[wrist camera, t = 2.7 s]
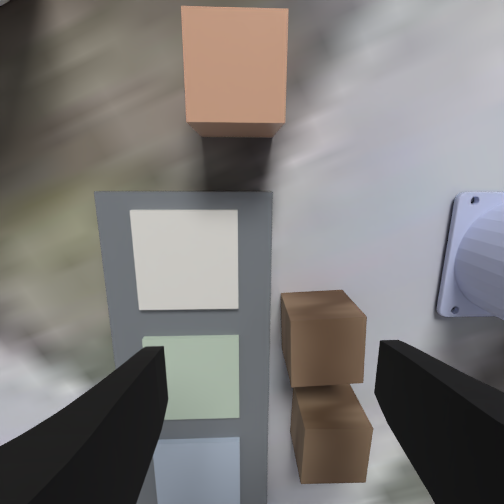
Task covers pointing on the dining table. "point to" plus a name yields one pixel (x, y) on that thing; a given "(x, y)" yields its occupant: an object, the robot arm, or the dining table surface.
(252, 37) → the tan short square block
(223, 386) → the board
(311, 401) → the walnut cube
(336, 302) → the walnut cube
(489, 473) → the robot arm
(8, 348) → the dining table surface
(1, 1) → the cup
